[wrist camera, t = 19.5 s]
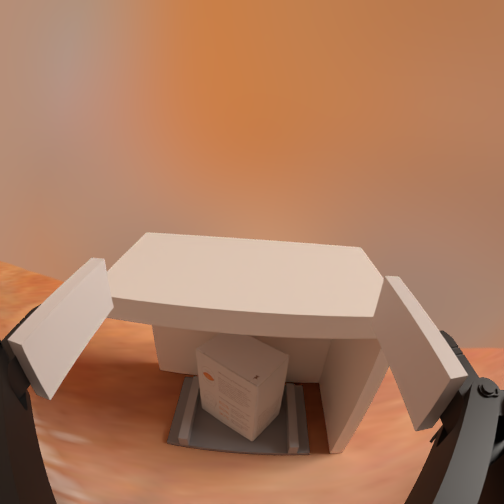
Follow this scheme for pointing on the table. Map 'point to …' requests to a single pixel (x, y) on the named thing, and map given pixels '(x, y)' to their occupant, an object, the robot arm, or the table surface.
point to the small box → (241, 381)
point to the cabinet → (258, 327)
